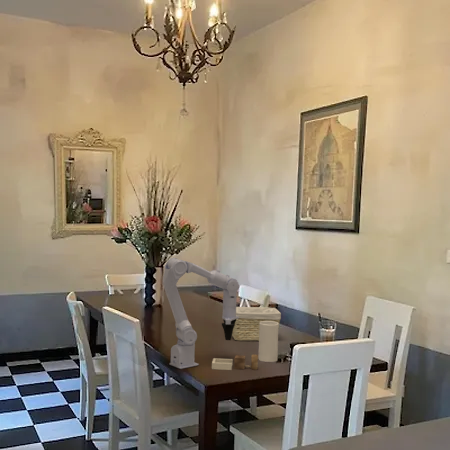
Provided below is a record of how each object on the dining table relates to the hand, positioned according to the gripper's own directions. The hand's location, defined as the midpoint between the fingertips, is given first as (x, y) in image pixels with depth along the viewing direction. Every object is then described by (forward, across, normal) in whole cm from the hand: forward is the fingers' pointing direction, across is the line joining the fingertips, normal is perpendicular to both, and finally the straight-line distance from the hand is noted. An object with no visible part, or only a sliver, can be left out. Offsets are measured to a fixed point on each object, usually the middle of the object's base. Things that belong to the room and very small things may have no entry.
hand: (228, 337), depth 227 cm
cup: (+10, +6, -17) cm, 21 cm away
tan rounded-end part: (+10, -9, -8) cm, 16 cm away
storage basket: (+10, +45, -10) cm, 47 cm away
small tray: (+10, -9, +1) cm, 14 cm away
